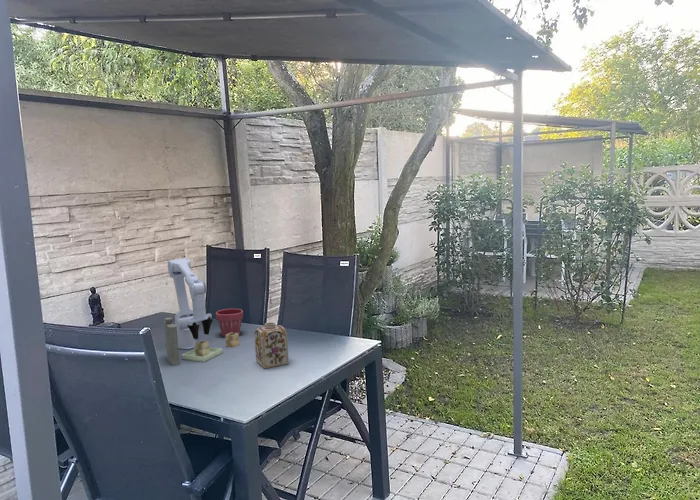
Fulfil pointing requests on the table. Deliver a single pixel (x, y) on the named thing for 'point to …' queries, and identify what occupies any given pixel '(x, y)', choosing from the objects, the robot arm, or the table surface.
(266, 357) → the decorative jar
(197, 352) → the birch block
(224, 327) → the plant pot
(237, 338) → the oak block
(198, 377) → the table surface
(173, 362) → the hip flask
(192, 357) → the tray
